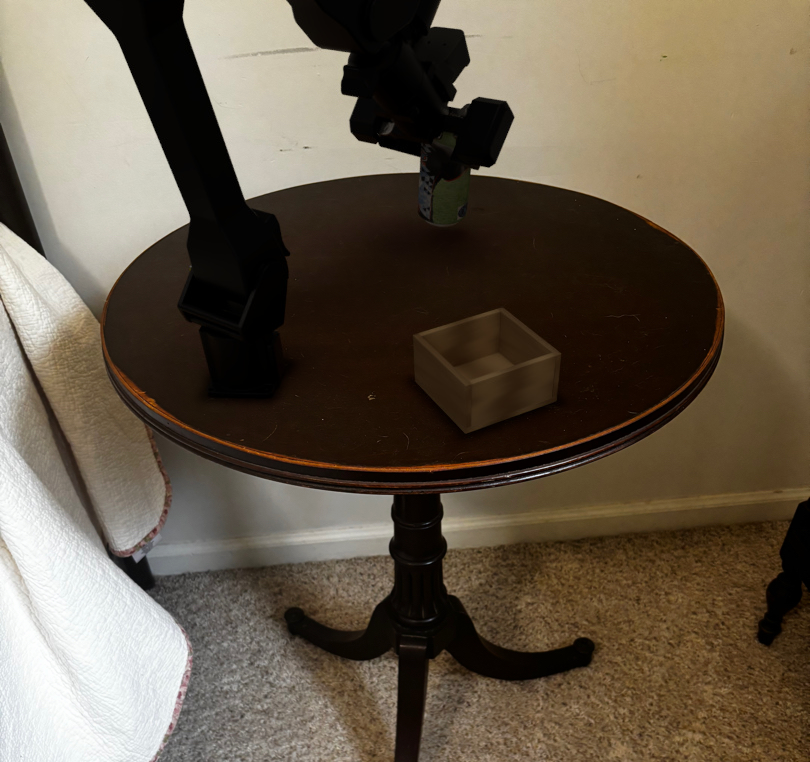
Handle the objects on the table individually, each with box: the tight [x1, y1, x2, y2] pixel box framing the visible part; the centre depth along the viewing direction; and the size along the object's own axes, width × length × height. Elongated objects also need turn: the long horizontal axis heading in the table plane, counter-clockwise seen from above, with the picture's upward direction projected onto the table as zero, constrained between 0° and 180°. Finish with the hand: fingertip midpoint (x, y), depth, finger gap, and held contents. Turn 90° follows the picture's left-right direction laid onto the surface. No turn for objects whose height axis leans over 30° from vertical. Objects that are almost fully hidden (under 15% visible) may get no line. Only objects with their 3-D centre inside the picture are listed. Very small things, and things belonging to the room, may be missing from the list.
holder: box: [412, 307, 562, 435], centre depth 74 cm, size 10×10×5 cm
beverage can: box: [417, 117, 472, 228], centre depth 94 cm, size 6×7×12 cm
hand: (457, 161), depth 94 cm, fingers closed on beverage can, 6 cm apart
